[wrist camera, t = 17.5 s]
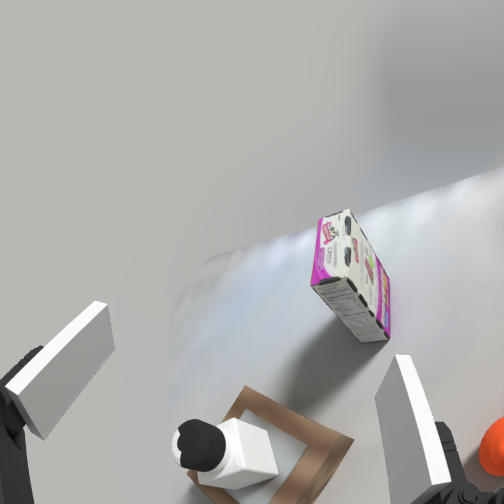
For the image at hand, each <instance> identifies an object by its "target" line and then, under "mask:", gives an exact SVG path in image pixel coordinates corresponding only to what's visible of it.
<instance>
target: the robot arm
mask: <svg viewBox="0 0 504 504" xmlns="http://www.w3.org/2000/svg"><path fill="white" fill-rule="evenodd" d="M114 350H115V346H114V340H113V335H112V329H111V322H110V316H109V309H108V304H105V303H101V302H98V301H94V302H93V303H92V304H91V305H90V306H89V307H87V308H86V309H85V310H84V311H83V312H82V313H81V314H80V315H79V316H77V317H76V318H75V319H74V320H73V321H72V322H71V323H70V324H69V325H68V326H67V327H65V328H64V329H63V330H62V331H61V332H60V333H59V334H58V335H57V336H56V337H55V338H54V339H52V340H51V341H50V342H49V343H48V344H47V345H46V346H45V347H43V346H39V347H37V348H35V349H33V350H31V351H30V352H29V353H28V354H27V355H26V356H25V357H24V359H21V360H20V361H19V362H18V364H16V365H15V366H14V367H13V368H12V369H11V370H10V371H9V372H8V373H7V374H6V375H5V376H4V377H3V378H2V379H1V380H0V504H34V499H33V494H32V488H31V483H30V477H29V469H28V462H27V455H26V443H25V433H24V429H23V427H24V426H25V424H26V425H27V426H28V428H29V429H30V431H31V432H32V433H33V434H35V435H36V436H38V437H40V438H41V439H43V440H45V439H46V438H47V436H48V435H49V433H50V432H51V431H52V429H53V428H54V427H55V426H56V424H57V423H58V422H59V420H60V419H61V418H62V416H63V415H64V414H65V412H66V411H67V410H68V408H69V407H70V406H71V405H72V403H73V402H74V401H75V399H76V398H77V397H78V395H79V394H80V393H81V392H82V390H83V389H84V388H85V387H86V385H87V384H88V383H89V381H90V380H91V379H92V377H93V376H94V375H95V374H96V372H97V371H98V370H99V369H100V368H101V366H102V365H103V364H104V363H105V361H106V360H107V359H108V358H109V356H110V355H111V354H112V353H113V352H114ZM375 402H376V407H377V412H378V418H379V423H380V429H381V435H382V441H383V447H384V453H385V460H386V467H387V475H388V482H389V491H390V500H391V504H504V487H503V488H501V489H500V490H499V491H498V492H496V493H488V492H479V490H478V488H477V487H476V486H475V485H473V484H471V483H468V482H467V480H466V478H465V474H464V471H463V467H462V464H461V461H460V458H459V454H458V451H456V449H457V448H456V445H455V443H454V439H453V436H452V433H451V430H450V429H449V428H448V427H447V425H446V424H445V423H444V422H434V420H433V417H432V414H431V411H430V408H429V405H428V402H427V399H426V396H425V394H424V391H423V388H422V385H421V383H420V380H419V377H418V375H417V372H416V370H415V367H414V364H413V362H412V359H411V357H410V355H395V356H394V358H393V360H392V362H391V365H390V367H389V369H388V371H387V373H386V375H385V377H384V379H383V382H382V384H381V386H380V388H379V390H378V392H377V394H376V396H375Z"/></svg>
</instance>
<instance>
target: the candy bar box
mask: <svg viewBox="0 0 504 504" xmlns="http://www.w3.org/2000/svg"><path fill="white" fill-rule="evenodd" d="M310 286H311V287H312V288H313V289H314V291H315V292H316V293H317V294H318V295H319V296H320V297H321V298H322V299H323V301H324V302H325V303H326V304H327V305H328V306H329V307H330V309H331V310H332V311H333V312H334V313H335V314H336V315H337V316H338V317H339V318H340V320H341V321H342V322H343V323H344V324H345V325H346V326H347V328H348V329H349V330H350V331H351V332H352V333H353V335H354V336H355V337H356V338H357V339H358V340H359V341H360V343H370V342H374V341H382V340H389V339H390V285H389V277H388V276H387V274H386V272H385V270H384V268H383V266H382V265H381V263H380V261H379V259H378V258H377V256H376V254H375V252H374V250H373V249H372V247H371V245H370V243H369V242H368V240H367V238H366V236H365V235H364V233H363V231H362V230H361V228H360V226H359V224H358V223H357V221H356V220H355V218H354V216H353V215H352V213H351V211H350V210H349V209H347V210H344V211H341V212H338V213H335V214H332V215H330V216H325V217H323V218H321V219H319V220H318V229H317V239H316V246H315V255H314V262H313V270H312V277H311V284H310Z"/></svg>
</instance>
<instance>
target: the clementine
mask: <svg viewBox="0 0 504 504" xmlns="http://www.w3.org/2000/svg"><path fill="white" fill-rule="evenodd" d="M479 459H480V463H481V465H482V467H483V469H484V470H485V471H486V472H487V473H489V474H491V475H493V476H504V417H503V418H501V419H499V420H497V421H496V422H495V423H494V424H492V426H491V427H490V428H489V429H488V430H487V431H486V433H485V435H484V437H483V438H482V441H481V444H480V449H479Z"/></svg>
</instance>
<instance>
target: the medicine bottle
mask: <svg viewBox="0 0 504 504" xmlns="http://www.w3.org/2000/svg"><path fill="white" fill-rule="evenodd" d="M171 453H172V456H173V458H174V460H175V462H176V463H177V464H178V465H179V466H181V467H183V468H187V469H191V470H195V471H197V474H198V481H199V483H200V484H203V485H208V486H214V487H221V488H227V489H235V490H237V489H240V488H243V487H246V486H250V485H253V484H256V483H258V482H261V481H264V480H267V479H270V478H272V477H275V476H278V474H279V472H278V468H277V465H276V461H275V458H274V454H273V451H272V447H271V443H270V440H269V436H268V432H267V431H266V430H264V429H262V428H259V427H256V426H254V425H251V424H249V423H246V422H244V421H241V420H239V419H236V418H231V419H229V420H227V421H225V422H223V423H221V424H219V425H217V426H213V425H211V424H208V423H206V422H203V421H201V420H198V419H191V420H188V421H186V422H184V423H183V424H182V425H180V426H179V427H178V429H177V430H176V432H175V433H174V435H173V438H172V442H171Z"/></svg>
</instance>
